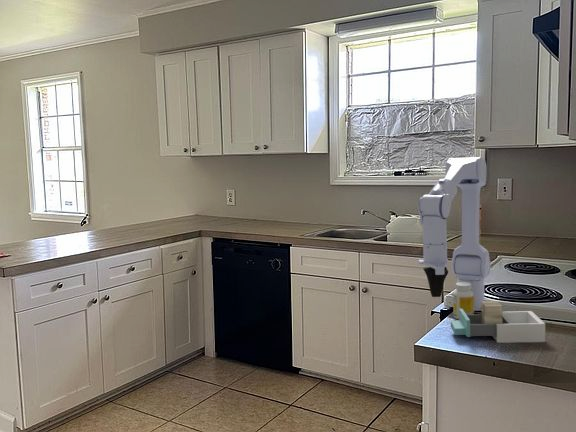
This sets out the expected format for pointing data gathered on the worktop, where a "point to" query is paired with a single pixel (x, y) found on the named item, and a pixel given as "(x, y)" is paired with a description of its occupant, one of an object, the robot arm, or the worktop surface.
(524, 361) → the worktop surface
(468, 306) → the supplement bottle
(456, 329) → the tray
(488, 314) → the birch block
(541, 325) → the organiser box
